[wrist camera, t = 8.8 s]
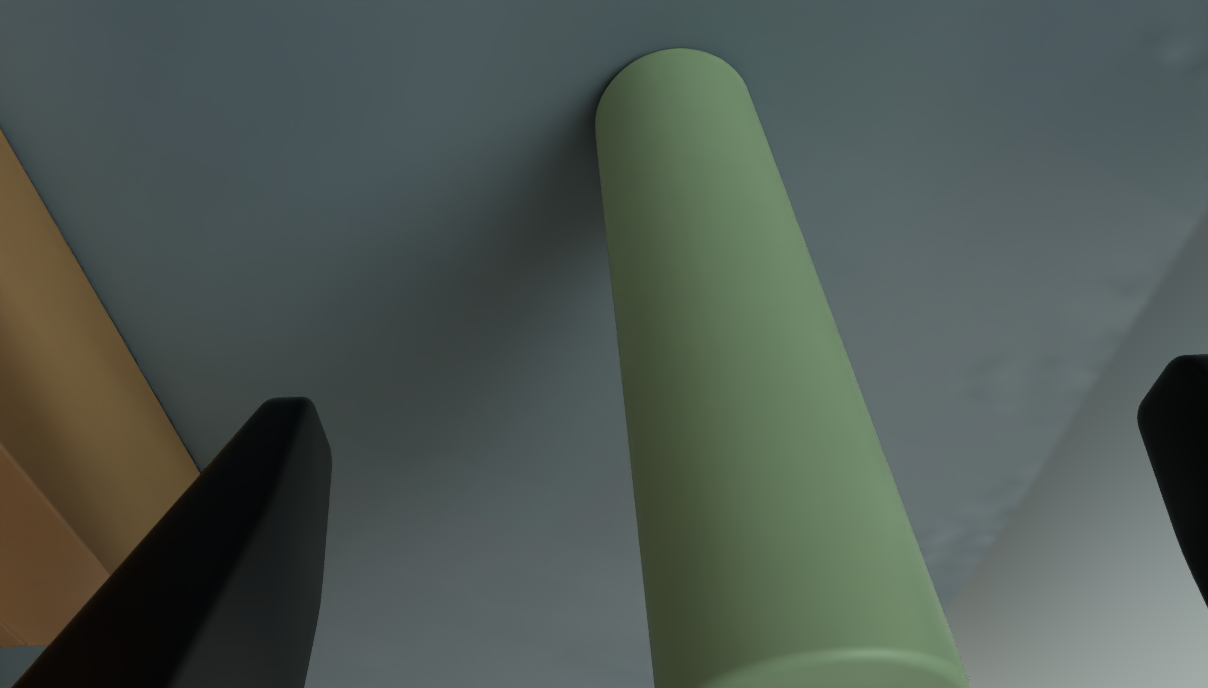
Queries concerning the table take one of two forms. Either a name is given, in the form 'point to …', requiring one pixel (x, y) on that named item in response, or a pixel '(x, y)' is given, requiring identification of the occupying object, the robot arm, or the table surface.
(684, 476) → the green dowel
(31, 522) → the rack
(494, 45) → the table surface
